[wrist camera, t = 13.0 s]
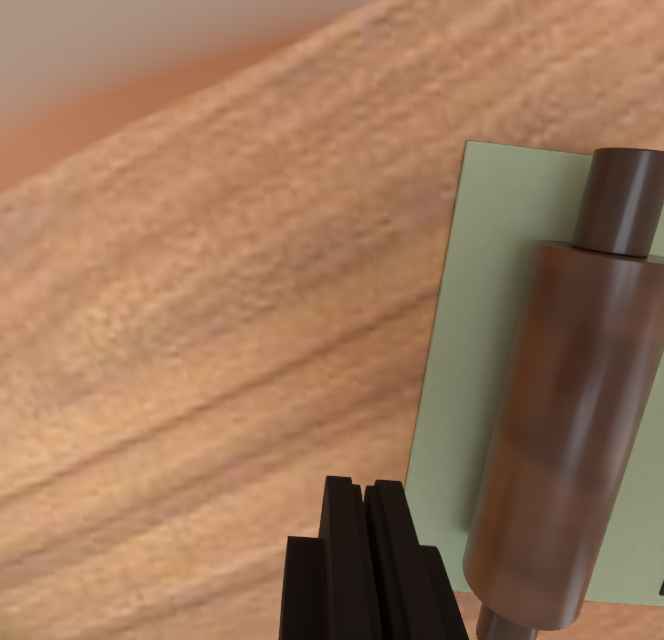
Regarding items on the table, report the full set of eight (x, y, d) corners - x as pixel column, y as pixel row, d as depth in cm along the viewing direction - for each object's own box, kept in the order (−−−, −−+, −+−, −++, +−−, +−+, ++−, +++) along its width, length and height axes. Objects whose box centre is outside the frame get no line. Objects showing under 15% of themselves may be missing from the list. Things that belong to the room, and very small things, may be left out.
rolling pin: (656, 163, 17) (768, 157, 13) (532, 599, 22) (582, 698, 18) (533, 147, 17) (606, 137, 12) (437, 592, 22) (465, 692, 18)
